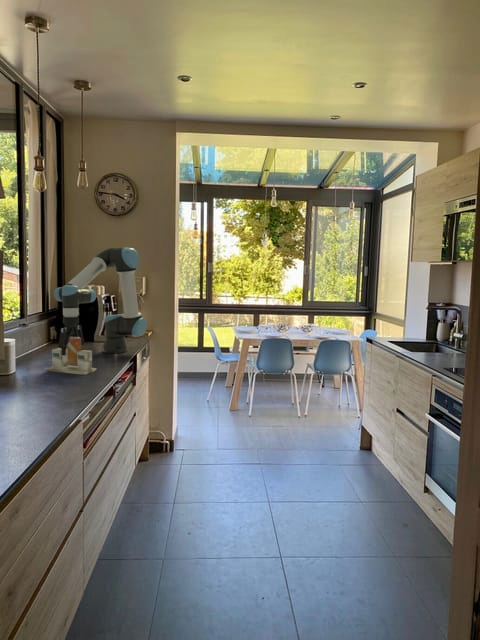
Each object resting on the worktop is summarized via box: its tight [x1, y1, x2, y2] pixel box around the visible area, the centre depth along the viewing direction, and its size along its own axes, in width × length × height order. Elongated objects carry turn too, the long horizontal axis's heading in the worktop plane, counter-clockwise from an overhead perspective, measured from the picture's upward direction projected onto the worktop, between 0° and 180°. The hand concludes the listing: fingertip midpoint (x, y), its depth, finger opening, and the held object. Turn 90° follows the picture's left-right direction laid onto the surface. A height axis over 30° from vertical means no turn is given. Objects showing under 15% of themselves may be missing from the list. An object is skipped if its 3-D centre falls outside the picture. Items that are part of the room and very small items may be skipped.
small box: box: [63, 336, 82, 365], centre depth 224 cm, size 8×6×13 cm
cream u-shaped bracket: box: [47, 347, 98, 375], centre depth 225 cm, size 10×22×11 cm, turn 73°
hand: (72, 359), depth 225 cm, fingers closed on small box, 10 cm apart
